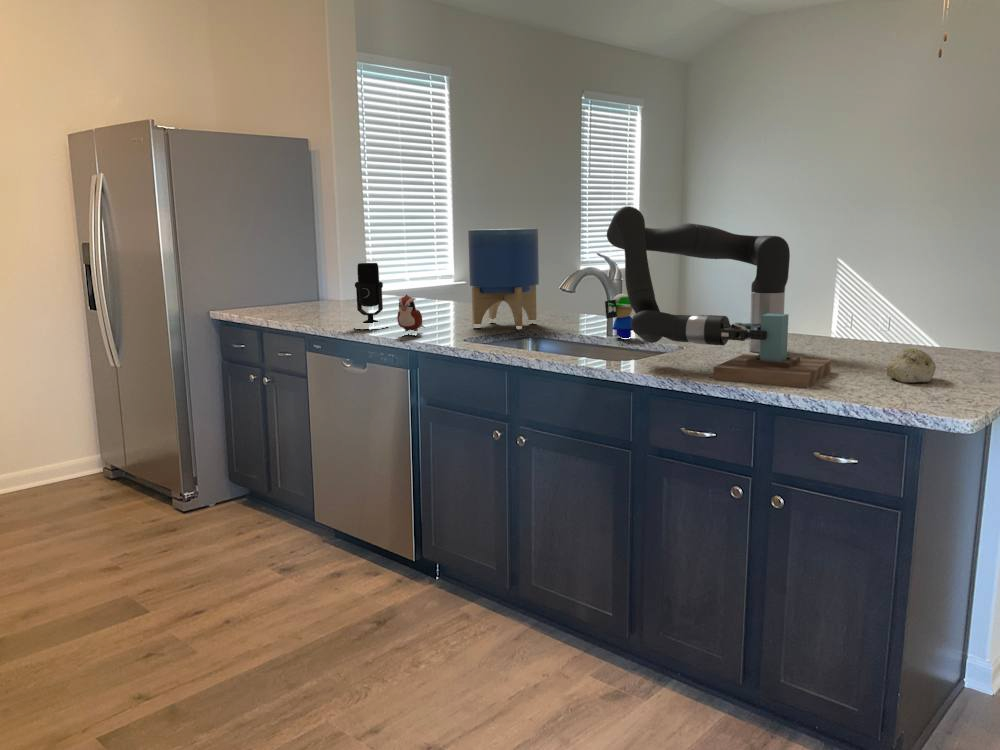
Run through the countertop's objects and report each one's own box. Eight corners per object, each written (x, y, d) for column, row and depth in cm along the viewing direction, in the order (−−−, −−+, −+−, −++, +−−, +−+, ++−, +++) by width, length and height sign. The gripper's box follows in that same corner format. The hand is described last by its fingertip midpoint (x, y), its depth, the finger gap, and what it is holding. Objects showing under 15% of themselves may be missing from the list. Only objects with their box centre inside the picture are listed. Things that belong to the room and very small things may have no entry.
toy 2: (603, 338, 270) (603, 293, 268) (627, 336, 273) (627, 292, 271) (616, 341, 262) (616, 295, 259) (640, 339, 265) (641, 294, 263)
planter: (460, 325, 315) (457, 230, 308) (520, 320, 326) (518, 228, 319) (488, 332, 292) (485, 229, 285) (551, 327, 302) (550, 228, 296)
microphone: (347, 329, 310) (343, 264, 305) (363, 325, 322) (359, 262, 318) (379, 330, 306) (376, 263, 301) (394, 326, 318) (391, 262, 314)
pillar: (766, 361, 201) (767, 313, 199) (786, 362, 198) (788, 314, 196) (759, 364, 197) (761, 315, 195) (780, 365, 194) (782, 316, 192)
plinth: (742, 365, 213) (743, 349, 213) (830, 372, 201) (831, 355, 200) (713, 379, 196) (713, 362, 195) (807, 387, 183) (808, 369, 183)
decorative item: (885, 357, 197) (928, 342, 192) (899, 391, 196) (943, 377, 190) (876, 358, 188) (921, 342, 182) (890, 393, 186) (936, 379, 181)
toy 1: (392, 338, 282) (390, 295, 279) (408, 332, 298) (406, 291, 295) (415, 338, 280) (413, 295, 277) (430, 332, 296) (429, 291, 293)
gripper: (697, 318, 200) (763, 321, 190) (717, 312, 211) (781, 314, 202) (697, 348, 201) (762, 352, 192) (717, 340, 212) (779, 344, 203)
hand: (771, 333), depth 197 cm, fingers open, 8 cm apart
